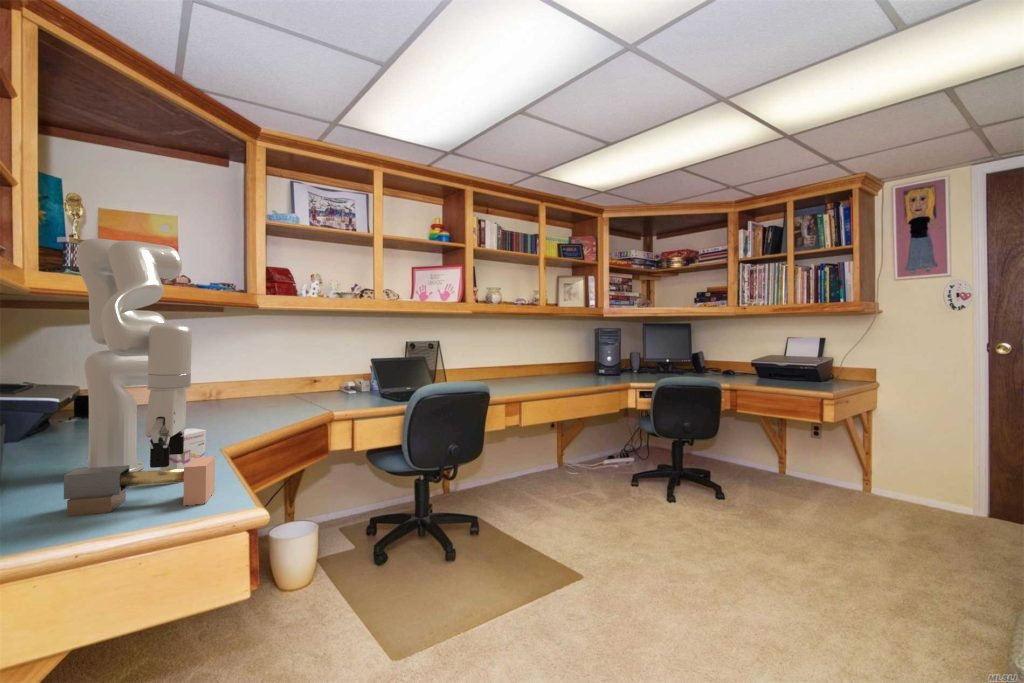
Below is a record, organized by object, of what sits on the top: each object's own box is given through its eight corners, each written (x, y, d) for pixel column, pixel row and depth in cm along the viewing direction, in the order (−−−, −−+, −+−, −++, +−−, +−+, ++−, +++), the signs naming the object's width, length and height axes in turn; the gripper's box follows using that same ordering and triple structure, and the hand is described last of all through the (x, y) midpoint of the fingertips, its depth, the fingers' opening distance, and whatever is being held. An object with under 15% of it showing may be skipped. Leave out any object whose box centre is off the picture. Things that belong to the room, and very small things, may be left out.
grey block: (60, 516, 91) (60, 476, 91) (78, 504, 98) (79, 467, 98) (117, 511, 95) (117, 472, 95) (131, 500, 101) (131, 463, 101)
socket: (183, 506, 98) (183, 467, 98) (194, 493, 106) (194, 457, 106) (205, 503, 100) (206, 465, 100) (214, 492, 107) (215, 456, 107)
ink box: (176, 484, 112) (176, 435, 112) (159, 482, 113) (159, 434, 113) (206, 474, 121) (206, 428, 121) (190, 472, 122) (190, 427, 122)
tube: (106, 490, 96) (106, 475, 96) (113, 485, 98) (113, 471, 98) (198, 482, 101) (198, 468, 101) (201, 478, 104) (202, 465, 104)
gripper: (162, 377, 107) (160, 450, 108) (132, 387, 91) (130, 473, 92) (200, 377, 110) (198, 449, 110) (177, 387, 94) (175, 471, 94)
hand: (167, 460), depth 101 cm, fingers open, 9 cm apart
